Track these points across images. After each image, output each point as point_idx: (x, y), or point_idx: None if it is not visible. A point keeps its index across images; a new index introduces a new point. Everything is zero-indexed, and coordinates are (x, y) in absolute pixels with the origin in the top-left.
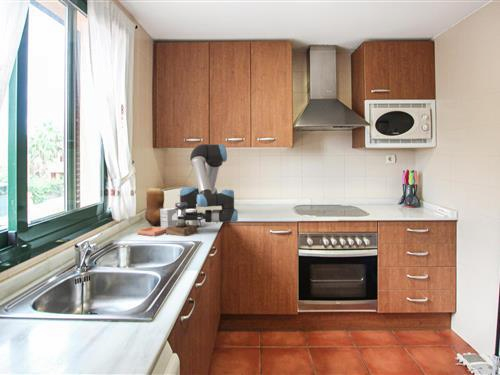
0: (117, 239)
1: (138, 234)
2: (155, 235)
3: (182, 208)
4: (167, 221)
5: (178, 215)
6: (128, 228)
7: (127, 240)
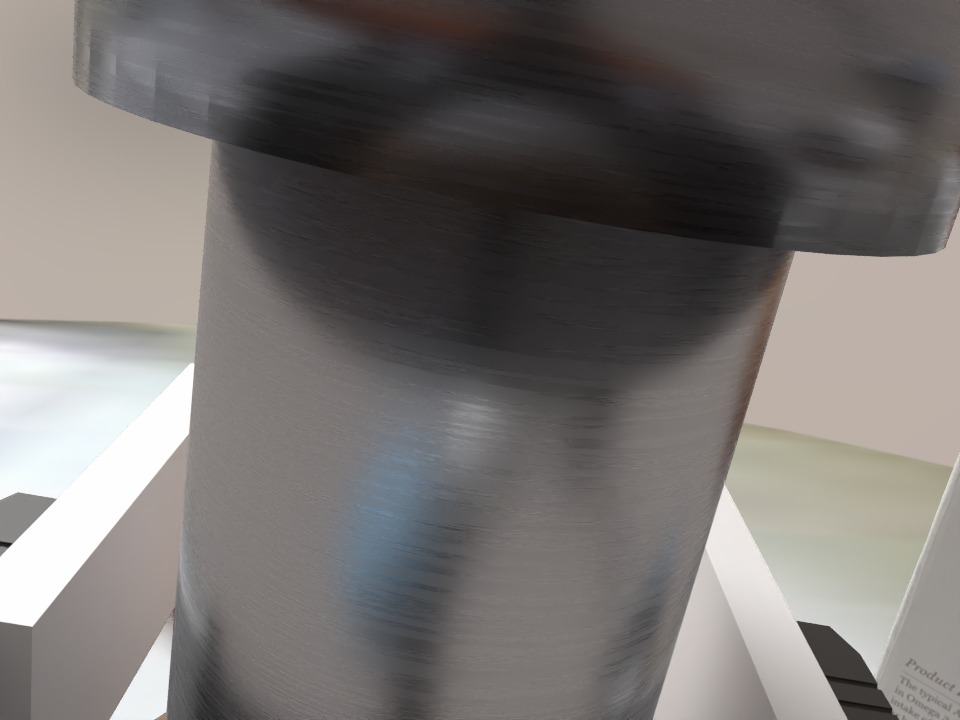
0: (181, 351)
1: None
2: None
3: (207, 202)
4: (886, 644)
5: (85, 470)
6: (773, 441)
7: (63, 385)
